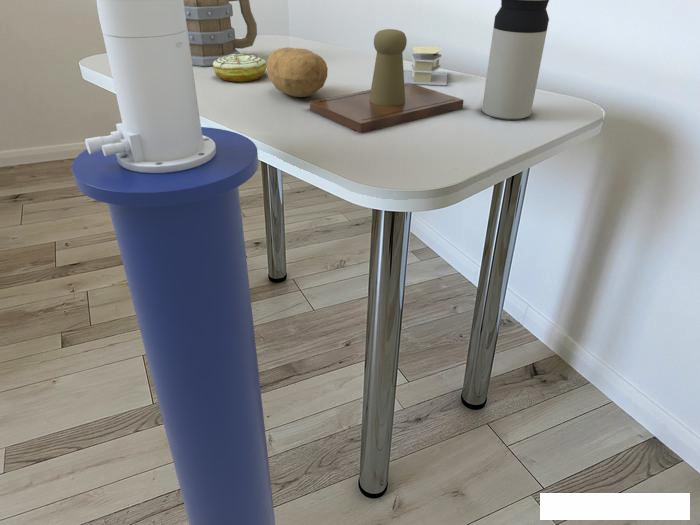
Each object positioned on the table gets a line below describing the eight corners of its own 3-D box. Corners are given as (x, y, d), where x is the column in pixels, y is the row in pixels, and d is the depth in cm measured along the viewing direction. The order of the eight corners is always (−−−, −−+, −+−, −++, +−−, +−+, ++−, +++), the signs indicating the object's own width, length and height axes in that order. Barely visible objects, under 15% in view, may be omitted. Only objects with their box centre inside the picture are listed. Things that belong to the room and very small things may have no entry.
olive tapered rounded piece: (412, 102, 90) (417, 31, 84) (381, 107, 87) (384, 34, 81) (392, 93, 94) (396, 25, 88) (362, 98, 92) (364, 28, 86)
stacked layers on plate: (446, 85, 105) (449, 55, 102) (400, 83, 106) (402, 53, 103) (447, 73, 113) (450, 45, 110) (404, 71, 115) (406, 43, 112)
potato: (299, 83, 105) (297, 39, 101) (340, 100, 96) (340, 52, 92) (254, 90, 101) (250, 45, 96) (293, 109, 91) (291, 59, 87)
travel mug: (520, 123, 86) (543, -2, 76) (473, 114, 90) (490, -7, 80) (537, 111, 91) (560, -7, 82) (492, 103, 95) (510, -11, 85)
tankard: (186, 68, 115) (174, -11, 107) (177, 56, 125) (166, -17, 117) (276, 60, 122) (272, -14, 114) (261, 50, 132) (256, -20, 124)
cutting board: (360, 133, 81) (360, 123, 80) (309, 110, 91) (309, 101, 90) (462, 108, 92) (463, 99, 92) (407, 90, 102) (408, 82, 101)
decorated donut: (265, 69, 115) (263, 50, 113) (269, 82, 106) (267, 62, 104) (214, 71, 113) (212, 52, 111) (214, 84, 104) (212, 63, 102)
